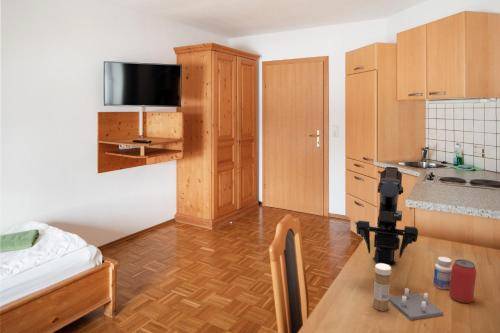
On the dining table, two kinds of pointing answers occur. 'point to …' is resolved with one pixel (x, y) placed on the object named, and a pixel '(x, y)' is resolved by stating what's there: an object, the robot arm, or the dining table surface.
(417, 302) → the pin tray
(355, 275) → the dining table surface
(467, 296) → the beer can
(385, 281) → the sprinkles bottle
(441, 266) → the pill bottle
